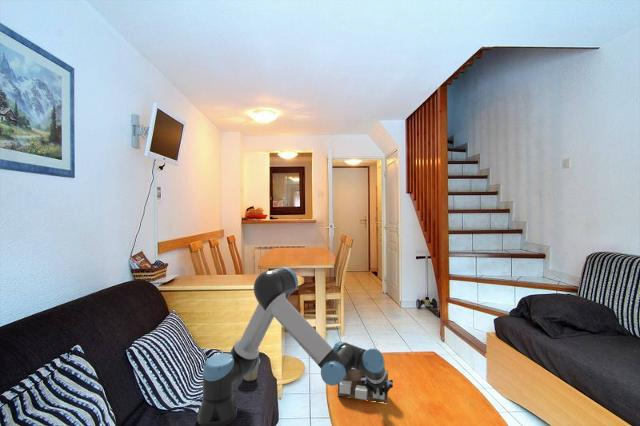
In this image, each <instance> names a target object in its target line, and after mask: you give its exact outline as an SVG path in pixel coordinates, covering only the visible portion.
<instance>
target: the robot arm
mask: <svg viewBox="0 0 640 426" xmlns="http://www.w3.org/2000/svg"><path fill="white" fill-rule="evenodd" d="M298 285H299V280H298V277H297V274H296V272H295V271H294V270H293V269H291V268H289V267H287V266H286V267H284V266H283V267H281V266H280V267H278V268H276V269H271V270H266V271H264V272H261V273H260V274H259V275H258V276H257V277H256V278H255V281H254V284H253V293H254V296H255V299H256V301H257V306H256V308H255V309H254V312H253V314H252V316H251V318H250V319H249V322H248V324H247V326H246V327H245V330H244V332H243V333H242V336H241V337H240V339H239V340H237V341H235V343H234V345H233V346H232V348H231V350H230V352H229V353H226V352H222V353H221V352H220V353H218V354H214V355H212V356H210V357H208V359H206V360H205V362H204V364H203V370H202V402H201V404H200V408H199V410H198V413H197V423H198V425H199V426H229V425H230V424H231V423H233V422H234V421H235V420H236V418H237V415H238V409H237V405H236V402H235V398H234V393H233V392H234V384H236V383H237V382H238V381H240V380H241V379H242V378H244V376H245V375H247V374H249V373H250V372H251V371H253V370H254V369H255V367H256V366H257V364H258V361H259V359H260V357H259V356H260V355H259V354H260V350H259V348H260V346H261V343H262V342H263V339H264V338H265V335H266V333H267V332H268V330H269V327H270V326H271V323H272V322H273V320H274V318H275V319H276V320H277V321H278V323H280V324H281V326H282V327H283V328H284V329H285V331H287V333H288V334H289V335H290V337H292V338H293V339H294V340H295V341H296V343H297V345H299V347H301V348H302V349H303V350H304V352H306V355H308V356H309V357H310V358H311V360H313V361H314V363H315V364H316V365H317V366H318V367H319V369H320V377H321V379H322V381H323V382H324V383H325V384H326V385H329V386H331V387H332V386H333V387H334V386H338V384H339V383H340V382H341V381H342V380H343V379H344V378H345V376H346V375H347V373H348V372H349V371H350V369H351V368H354V369H357V370H360V371H363V372H365V373H366V377H364V376H361V383H362V384H364V385H365V387H366V388H367V389H368V390H369V391H370V392H371V391H373V392H374V394H376V395H377V399H381V396H382V395H383V392H384V393H385V394H387V392H388V393H389V391H390V390H391V389H392V388H393V387H394V380H393V379H388V381H387V378H386V374H385V370H386V368H385V364H386V362H385V359H384V355H383V353H382V352H381V351H380V350H379V349H377V348H375V347H371V348H368V349H365V348H362V347H359V346H356V345H353V344H350V343H348V342H345V341H341V340H338V341H336V342H335V343H334V346H333V347H332V346H331V345H330V344H329V343H328V342H327V340H325V338H324V337H323V336H321V334H320V333H319V332H318V331H317V329H315V328H314V327H313V326H312V325H311V324H310V323H309V321H308V320H307V319H306V318H305V317H304V316H303V315H302V314H301V313H300V312H299V311H298V310H297V309H296V307H295V306H294V305H293V304H292V303H291V302H290V301H289V300H288V298H289V297H290V295H291V294H293V293H294V292H295V291H297V288H298ZM384 385H385V386H384ZM383 386H384V388H383Z"/></svg>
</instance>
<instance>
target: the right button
mask: <svg viewBox="0 0 640 426" xmlns="http://www.w3.org/2000/svg"><path fill="white" fill-rule="evenodd" d="M383 388H384V386H383ZM373 398H376V399H377V395H376V394H374V392H373ZM381 399H382V400H384V399H385V393H384V392H383V395H382V396H381Z"/></svg>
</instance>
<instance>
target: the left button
mask: <svg viewBox="0 0 640 426" xmlns="http://www.w3.org/2000/svg"><path fill="white" fill-rule="evenodd" d="M351 391H352V382H351V381H344V380H342V381H341V382H340V386H339V393H344V394H351Z"/></svg>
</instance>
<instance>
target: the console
mask: <svg viewBox="0 0 640 426" xmlns="http://www.w3.org/2000/svg"><path fill="white" fill-rule="evenodd" d="M385 374H386V378H387V381H388V380H389V370H388V369H385ZM361 376H364V377H366V373H365V372H363V371H360V370H357V369H354V368H351V369H350V371H349V372H348V373H347V375H346V376H345V378H344V379H343V380H344V381H351V382H352V391H351V394H344V393H339V386H340V383H339V384H337V397H339V396H342V397H341V398H345V397H350V398H349V399H351V398H355V389H356V385H360V386H365V385H364V384H362V383H361ZM384 386H385V385H384ZM387 397H389V391H388V392H387V394H385V399H384V400H382V399H376V398H373V391H371V392H370V391H369V390H368V396H367V400H368V401H367V402H369V401H376V402H384V403H387V404H388V399H387ZM363 400H364V399H362V400H361V401H363Z"/></svg>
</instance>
